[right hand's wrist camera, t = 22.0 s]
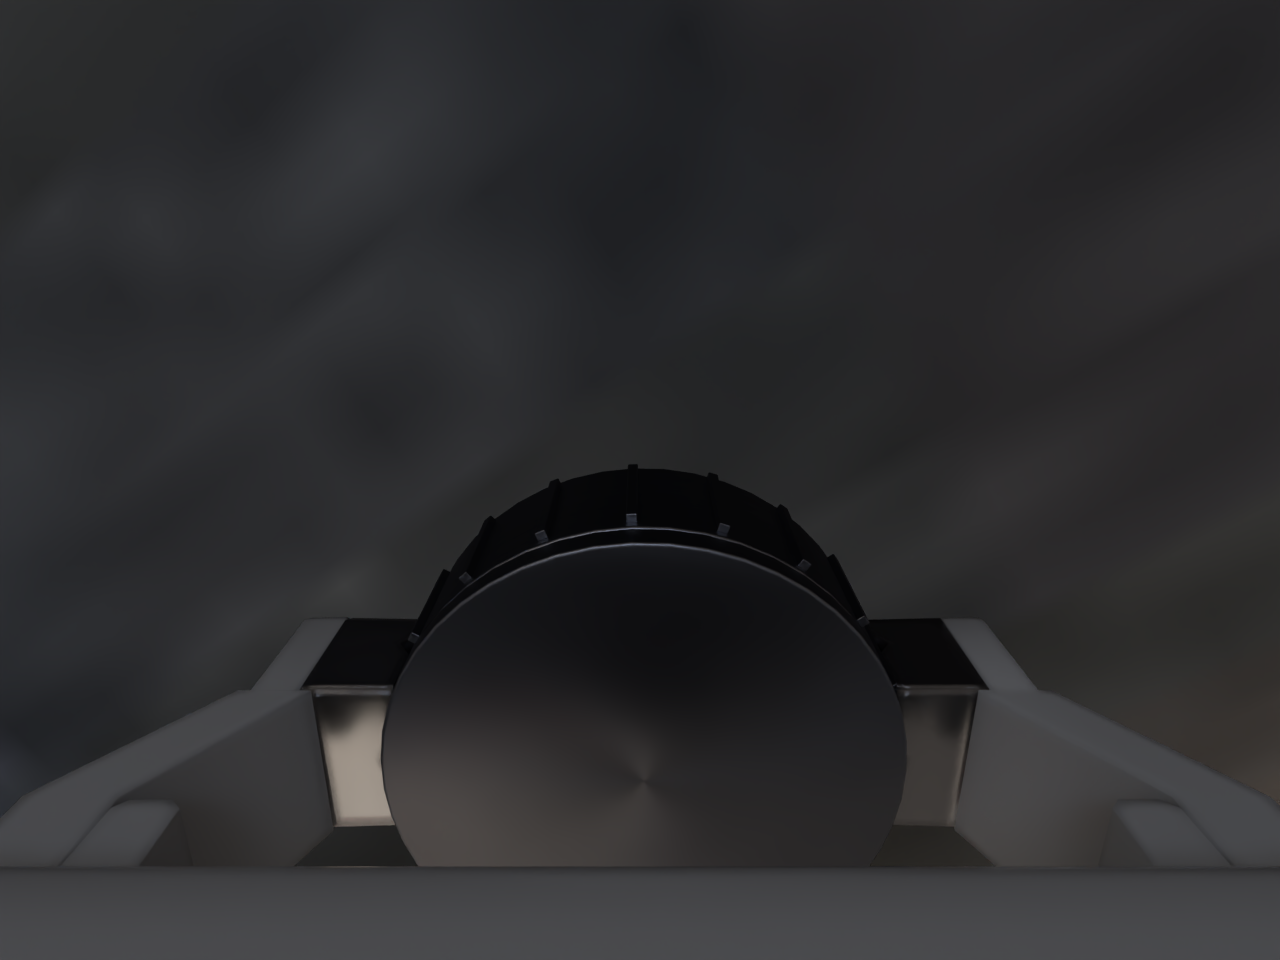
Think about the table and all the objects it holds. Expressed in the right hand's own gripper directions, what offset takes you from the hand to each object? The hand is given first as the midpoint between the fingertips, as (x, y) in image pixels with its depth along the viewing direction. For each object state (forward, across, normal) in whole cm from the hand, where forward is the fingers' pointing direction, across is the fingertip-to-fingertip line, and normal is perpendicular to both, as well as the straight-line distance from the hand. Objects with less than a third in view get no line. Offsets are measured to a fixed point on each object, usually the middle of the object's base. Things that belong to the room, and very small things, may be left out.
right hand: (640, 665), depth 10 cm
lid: (-2, 0, 0) cm, 2 cm away
